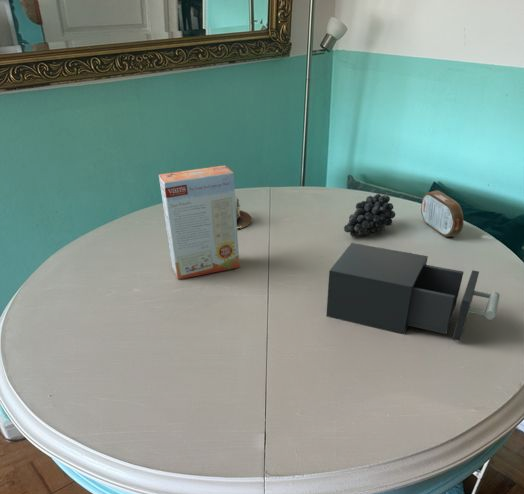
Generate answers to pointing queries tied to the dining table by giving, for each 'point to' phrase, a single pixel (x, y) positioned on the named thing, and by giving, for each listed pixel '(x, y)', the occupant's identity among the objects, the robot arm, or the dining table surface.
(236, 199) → the skull
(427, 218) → the tin
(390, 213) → the fruit
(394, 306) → the drawer cabinet casing
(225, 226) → the cracker box
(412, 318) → the grey drawer
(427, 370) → the dining table surface
